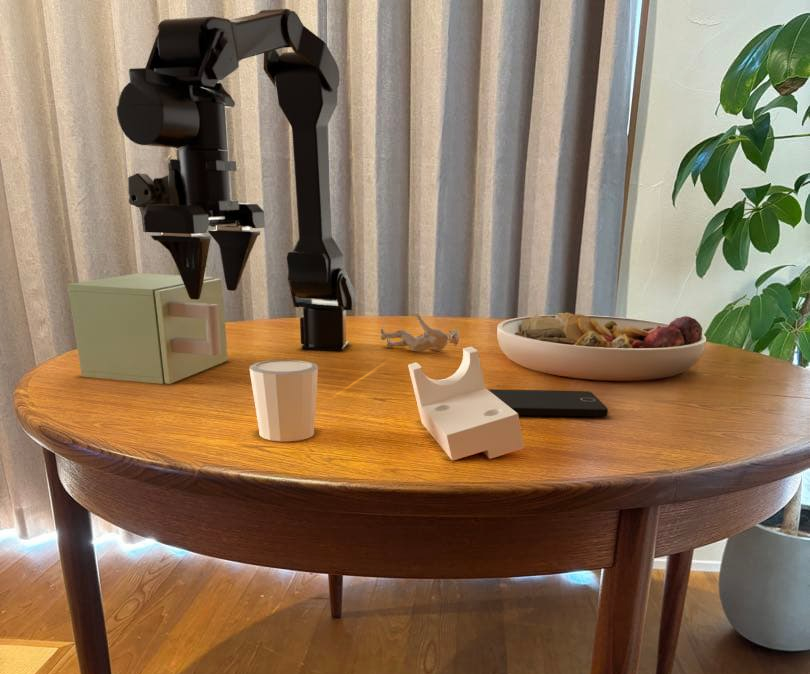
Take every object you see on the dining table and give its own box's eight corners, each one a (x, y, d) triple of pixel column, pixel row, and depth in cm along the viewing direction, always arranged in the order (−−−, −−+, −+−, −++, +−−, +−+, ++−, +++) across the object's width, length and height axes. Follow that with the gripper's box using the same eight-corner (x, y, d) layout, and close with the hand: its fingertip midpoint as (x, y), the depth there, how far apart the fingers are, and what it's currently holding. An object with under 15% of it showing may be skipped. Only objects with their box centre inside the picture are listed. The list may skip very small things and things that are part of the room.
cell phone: (608, 417, 87) (609, 409, 86) (450, 415, 86) (451, 406, 86) (589, 398, 95) (590, 390, 94) (445, 395, 94) (445, 388, 94)
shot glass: (326, 425, 82) (324, 360, 79) (312, 445, 76) (310, 374, 73) (263, 422, 82) (259, 357, 79) (245, 441, 76) (240, 371, 73)
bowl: (470, 372, 107) (473, 315, 104) (522, 339, 133) (526, 292, 129) (694, 396, 97) (705, 333, 94) (704, 355, 123) (713, 304, 119)
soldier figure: (395, 350, 126) (464, 331, 122) (395, 374, 124) (466, 356, 120) (376, 321, 120) (449, 300, 116) (377, 346, 118) (451, 325, 114)
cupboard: (221, 361, 111) (215, 277, 106) (163, 384, 97) (152, 289, 92) (148, 355, 114) (138, 273, 109) (81, 377, 100) (67, 284, 95)
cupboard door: (268, 364, 109) (263, 281, 104) (215, 388, 95) (207, 293, 91) (223, 360, 111) (216, 278, 106) (164, 383, 97) (154, 290, 92)
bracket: (423, 430, 84) (407, 364, 81) (484, 412, 85) (471, 346, 81) (454, 469, 73) (437, 394, 69) (524, 448, 73) (510, 372, 70)
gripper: (181, 153, 96) (193, 283, 103) (88, 145, 80) (109, 300, 86) (263, 154, 94) (269, 287, 100) (183, 146, 77) (198, 306, 84)
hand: (214, 294), depth 93 cm, fingers open, 9 cm apart
